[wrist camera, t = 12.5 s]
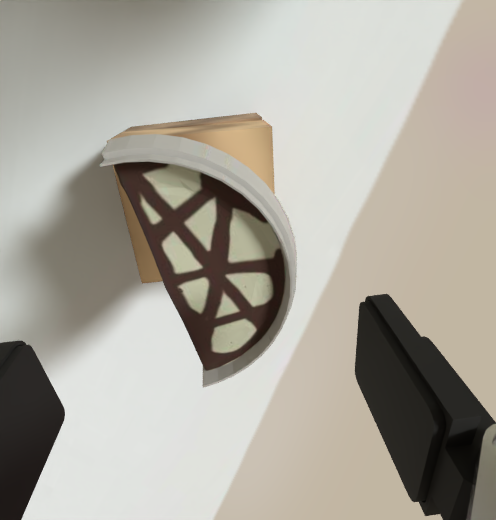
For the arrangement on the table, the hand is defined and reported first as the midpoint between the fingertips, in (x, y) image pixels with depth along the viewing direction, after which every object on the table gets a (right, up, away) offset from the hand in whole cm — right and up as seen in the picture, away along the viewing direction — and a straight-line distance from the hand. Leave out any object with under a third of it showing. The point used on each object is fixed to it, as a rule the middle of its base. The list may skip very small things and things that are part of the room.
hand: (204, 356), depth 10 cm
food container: (0, +7, +13) cm, 15 cm away
